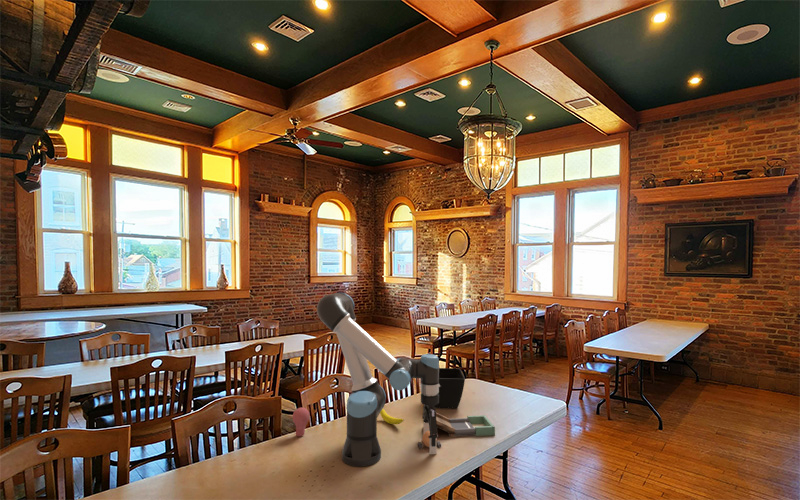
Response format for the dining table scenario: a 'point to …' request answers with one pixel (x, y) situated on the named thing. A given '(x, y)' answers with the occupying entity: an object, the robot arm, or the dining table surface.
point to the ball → (426, 438)
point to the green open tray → (482, 425)
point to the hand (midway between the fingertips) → (429, 445)
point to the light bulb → (300, 420)
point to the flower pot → (450, 387)
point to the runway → (462, 427)
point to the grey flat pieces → (437, 444)
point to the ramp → (445, 424)
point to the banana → (390, 418)
